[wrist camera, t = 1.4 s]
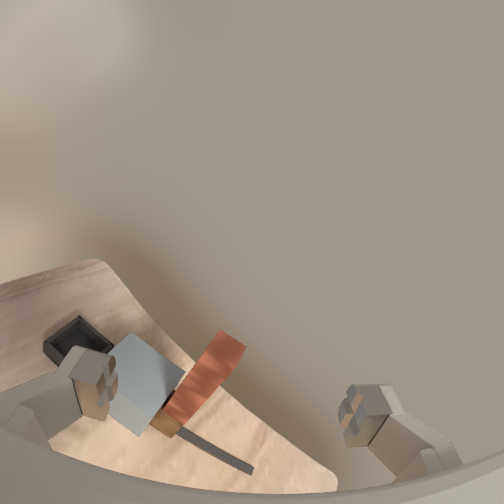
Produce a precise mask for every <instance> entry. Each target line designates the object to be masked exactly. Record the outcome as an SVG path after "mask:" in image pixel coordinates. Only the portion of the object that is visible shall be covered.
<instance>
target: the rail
mask: <svg viewBox="0 0 504 504" xmlns="http://www.w3.org/2000/svg"><path fill="white" fill-rule="evenodd" d="M176 434H177V435H179V436H180V437H182V438H183V439H185V440H187V441H188V442H190V443H191V444H193V445H195V446H196V447H198V448H200V449H202V450H203V451H205V452H207V453H209V454H210V455H212V456H214V457H216V458H218V459H219V460H221V461H223V462H225V463H227V464H229V465H231V466H233V467H234V468H236V469H238V470H240V471H242V472H244V473H246V474H248V475H252V472H253V470H254V467H253V466H251V465H249V464H247V463H245V462H243V461H241V460H239V459H237V458H235V457H233V456H231V455H229V454H228V453H226V452H224V451H222V450H220V449H219V448H217V447H215V446H213V445H212V444H210V443H208V442H206V441H205V440H203V439H201V438H200V437H198V436H196V435H195V434H193V433H191V432H190V431H188V430H187V429H185V428H183V427H181V429H180V430H179V431H178V432H177V433H176Z"/></svg>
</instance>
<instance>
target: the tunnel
mask: <svg viewBox="0 0 504 504" xmlns="http://www.w3.org/2000/svg"><path fill="white" fill-rule="evenodd" d="M108 354H109V355H113V356H114V357H115V360H116V366H115V368H114V370H115V372H116V373H117V374H118V388H117V392H116V395H115V398H114V399H113V400H111V401H109V405H110V409H109V412H108V414H109V415H110V416H111V417H113V418H114V419H115V420H117V421H118V422H119V423H121V424H122V425H123V426H125V427H126V428H127V429H129V430H130V431H132V432H133V433H134V434H136V435H137V436H139V437H140V435H141V434H142V432H143V431H144V430H145V428H146V427H147V425H148V424H149V423H150V421H151V420H152V418H153V417H154V415H155V414H156V413H157V411H158V410H159V409H160V407H161V406H162V404H163V403H164V402H165V400H166V399H167V397H168V396H169V395H170V393H171V392H172V390H173V389H174V388H175V386H176V385H177V383H178V382H179V381H180V379H181V378H182V376H183V375H184V373H185V371H184V370H182V369H181V368H180V367H178V366H177V365H175V364H174V363H172V362H171V361H170V360H168V359H167V358H166V357H164V356H163V355H161V354H160V353H159V352H157V351H156V350H155V349H153V348H152V347H151V346H149V345H148V344H147V343H145V342H144V341H143V340H141V339H140V338H139V337H138V336H136V335H135V334H134V333H133V332H130V333H129V334H128V335H127V336H126V337H125V338H124V339H123V340H122V341H120V342H119V343H118V344H117V345H116V346H115V347H114V348H113V349H112V350H111V351H110V352H109V353H108Z"/></svg>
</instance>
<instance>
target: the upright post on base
mask: <svg viewBox="0 0 504 504" xmlns="http://www.w3.org/2000/svg"><path fill="white" fill-rule="evenodd" d="M245 349H246V346H245V345H243V344H242V343H240V342H239V341H237V340H236V339H234V338H233V337H231V336H229V335H228V334H226V333H225V332H224V331H222V330H219V331H218V333H217V334H216V336H215V337H214V338H213V340H212V341H211V343H210V344H209V345H208V347H207V348H206V350H205V351H204V352H203V354H202V355H201V357H200V358H199V360H198V361H197V362H196V364H195V365H194V366H193V368H192V369H191V371H190V372H189V373H188V375H187V376H186V378H185V379H184V380H183V382H182V383H181V385H180V386H179V387H178V389H177V390H176V391H174V390H172V392H171V393H170V395H169V396H168V397H167V399H166V400H165V402H164V403H163V404H162V406H161V407H160V409H159V410H158V411H157V413H156V414H155V415H154V417H153V418H152V420H151V421H150V423H149V424H150V425H151V426H153V427H154V428H156V429H157V430H159V431H160V432H162V433H163V434H165V435H166V436H168V437H169V438H172V437H173V436H174V435H175V434H176V433H177V432H178V431H179V430H180V429H181V427H182V426H183V425H184V424H185V423H186V422H187V421H188V420H189V419H190V418H191V417H192V416H193V414H194V413H195V412H196V411H197V410H198V409H199V408H200V407H201V406H202V405H203V404H204V402H205V401H206V400H207V399H208V398H209V397H210V396H211V395H212V394H213V392H214V391H215V390H216V389H217V388H218V387H219V386H220V385H221V383H222V382H223V381H224V380H225V379H226V378H227V377H228V375H229V374H230V373H231V372H232V371H233V370H234V368H235V367H236V366H237V364H238V362H239V361H240V359H241V357H242V355H243V353H244V351H245Z"/></svg>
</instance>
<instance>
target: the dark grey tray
mask: <svg viewBox="0 0 504 504" xmlns="http://www.w3.org/2000/svg"><path fill="white" fill-rule="evenodd" d="M75 345H77V346H80V347H83V348H86V349H91V350H95V351H98V352H102V353H105V354H108V353H109V352H110V351H111V350H112V349H113V347H114V345H113V344H112V343H111V342H110V341H109V340H107V339H106V338H105V337H104V336H103V335H101V334H100V333H99V332H98V331H97V330H96V329H95V328H93V327H92V326H91V325H90V324H89V323H88V322H87V321H86V320H84V319H83V318H82V317H81V316H80V315H79V316H78V317H77V318H75V319H74V320H72V321H71V322H70V323H68V324H67V325H66V326H64V327H63V328H62V329H60V330H59V331H58V332H56V333H55V334H54V335H52V336H51V337H50V338H48V339H47V340H46V341H44V346H43V352H44V353H45V354H46V355H47V356H48V357H49V358H50V359H51V360H52V361H53V362H54V363H55V364H56V365H57V366H58V367H59V365H60V364H61V363H62V361H63V360H64V358H65V357H66V355H67V354H68V353H69V351H70V350H71V348H72V347H73V346H75Z"/></svg>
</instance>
